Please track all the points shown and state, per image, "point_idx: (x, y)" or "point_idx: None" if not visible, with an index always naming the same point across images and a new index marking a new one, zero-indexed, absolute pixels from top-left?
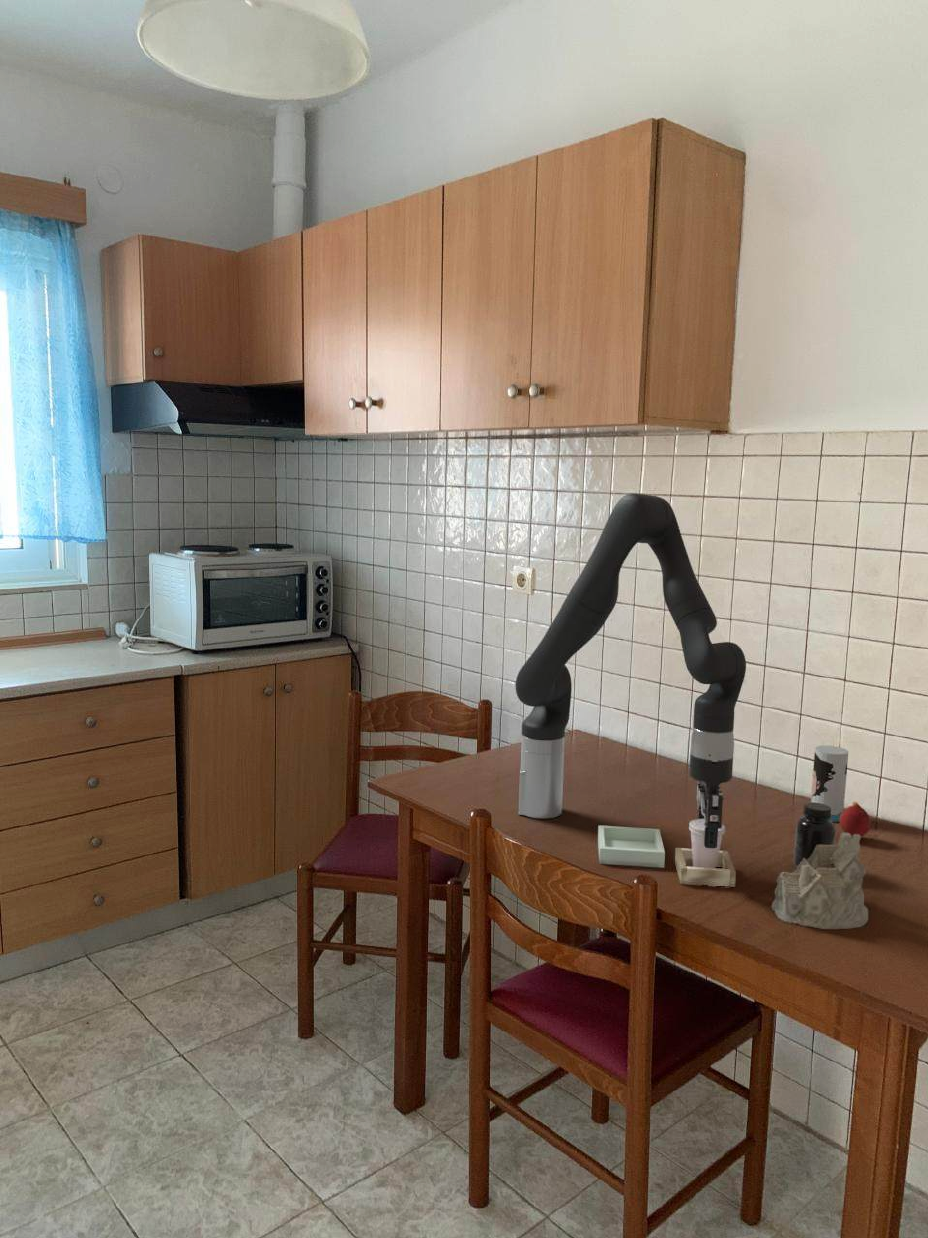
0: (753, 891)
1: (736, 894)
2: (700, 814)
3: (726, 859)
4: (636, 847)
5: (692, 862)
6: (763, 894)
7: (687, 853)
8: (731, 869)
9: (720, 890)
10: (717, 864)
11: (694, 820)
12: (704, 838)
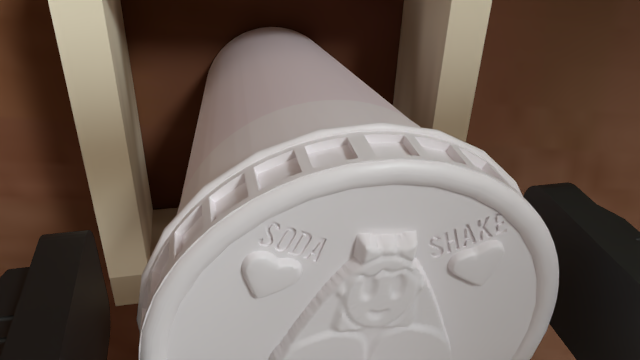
0: (112, 312)
1: (34, 243)
2: (635, 302)
3: None
4: None
5: (410, 37)
6: None
7: (440, 17)
8: None
9: (59, 168)
10: None
11: (510, 223)
12: (50, 287)
